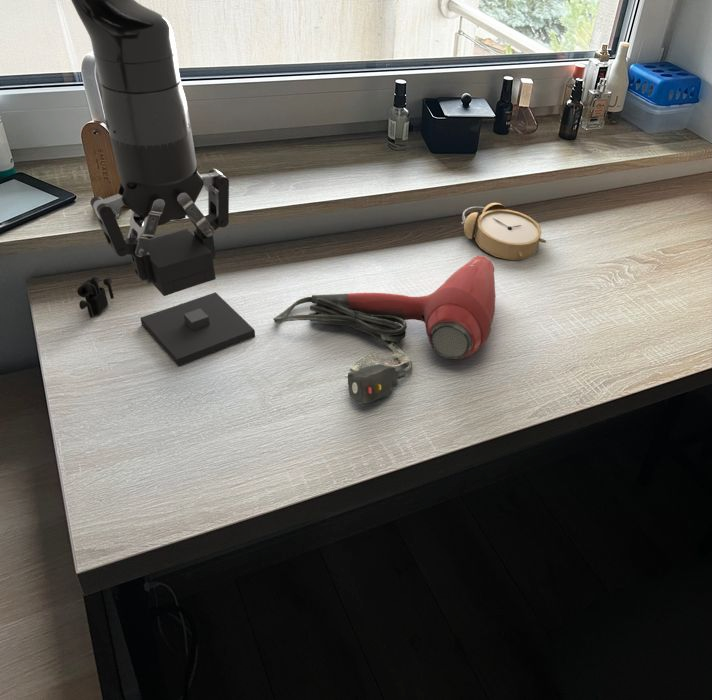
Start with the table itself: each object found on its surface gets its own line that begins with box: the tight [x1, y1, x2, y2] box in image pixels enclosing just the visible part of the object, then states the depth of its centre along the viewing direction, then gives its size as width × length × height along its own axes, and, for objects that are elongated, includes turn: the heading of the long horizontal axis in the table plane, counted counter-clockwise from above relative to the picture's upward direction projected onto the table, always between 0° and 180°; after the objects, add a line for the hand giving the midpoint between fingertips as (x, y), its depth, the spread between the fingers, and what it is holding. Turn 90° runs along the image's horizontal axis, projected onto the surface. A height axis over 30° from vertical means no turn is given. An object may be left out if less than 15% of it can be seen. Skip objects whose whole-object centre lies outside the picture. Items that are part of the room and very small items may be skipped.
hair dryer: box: [272, 255, 497, 404], centre depth 101 cm, size 33×25×9 cm
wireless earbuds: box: [77, 276, 115, 319], centre depth 99 cm, size 7×2×5 cm, turn 170°
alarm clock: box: [461, 202, 547, 261], centre depth 125 cm, size 11×5×15 cm
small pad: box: [147, 228, 217, 297], centre depth 80 cm, size 6×6×4 cm
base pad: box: [140, 292, 256, 367], centre depth 98 cm, size 11×11×3 cm
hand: (177, 270), depth 81 cm, fingers closed on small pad, 6 cm apart
